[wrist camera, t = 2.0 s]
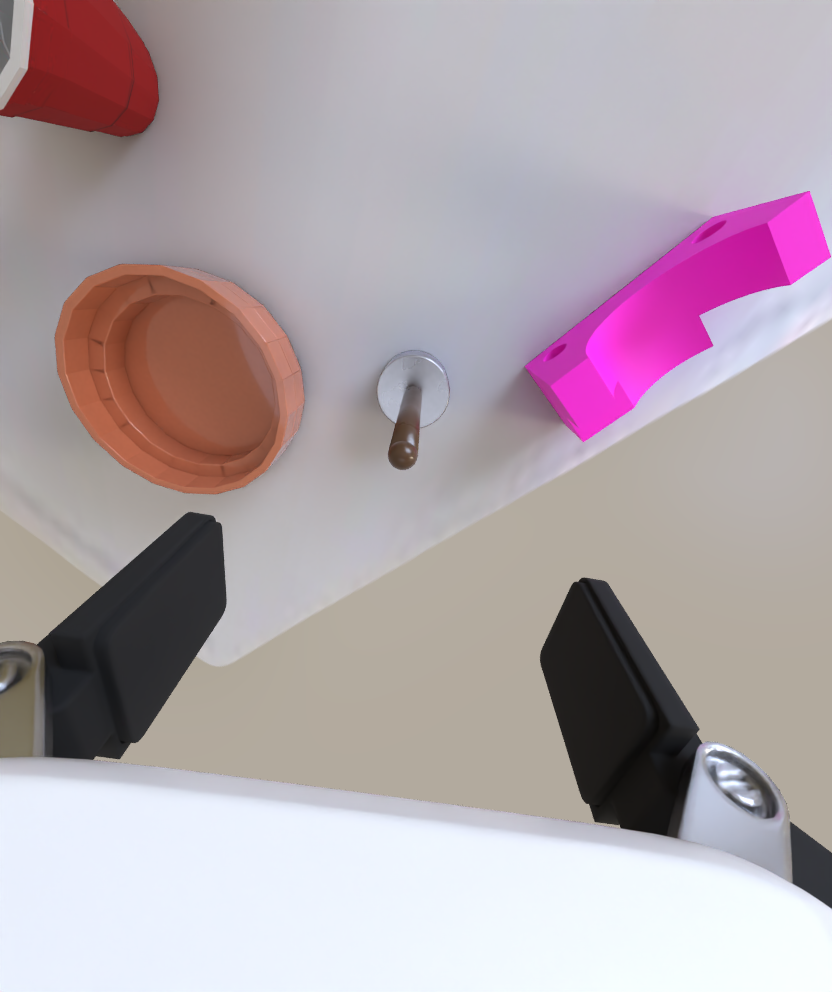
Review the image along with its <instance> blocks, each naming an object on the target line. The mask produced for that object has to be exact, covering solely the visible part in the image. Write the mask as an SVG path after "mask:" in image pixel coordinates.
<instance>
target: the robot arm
mask: <svg viewBox="0 0 832 992" xmlns="http://www.w3.org/2000/svg"><path fill="white" fill-rule="evenodd" d="M225 608H226V584H225V568H224V552H223V535H222V525H221V523H219V522H216V519H215V518H214V516H211V515H205V514H199V513H193V512H188V513H186V514H185V515H184V516H183V517H181V518H180V519H179V520H178V521H177V522H176V523H175V524H173V525H172V526H171V527H170V528H169V529H168V530H167V531H165V532H164V533H163V534H162V535H161V536H160V537H159V538H157V539H156V540H155V541H154V542H153V543H152V544H151V545H149V546H148V547H147V548H146V549H145V550H144V551H143V552H141V553H140V554H139V555H138V556H137V557H136V558H135V559H133V560H132V561H131V562H130V563H129V564H128V565H127V566H125V567H124V568H123V569H122V570H121V571H120V572H119V573H117V574H116V575H115V576H114V577H113V578H112V579H111V580H109V581H108V582H107V583H106V584H105V585H104V586H103V587H101V588H100V589H99V590H98V591H97V592H96V593H95V594H93V595H92V596H91V597H90V598H89V599H88V600H87V601H86V602H84V603H83V604H82V605H81V606H80V607H79V608H77V609H76V610H75V611H74V612H73V613H72V614H71V615H69V616H68V617H67V618H66V619H65V620H64V621H63V622H62V623H60V624H59V625H58V626H57V627H56V628H55V629H53V630H52V631H51V632H50V633H49V635H47V636H46V637H45V638H44V639H43V640H42V641H40V642H39V643H38V644H37V645H36V644H34V643H30V642H25V641H7V642H2V643H0V992H832V853H831V852H830V851H829V850H827V849H826V848H824V847H823V846H822V845H821V844H819V843H818V842H817V841H815V840H814V839H813V838H811V837H810V836H808V835H807V834H806V833H805V832H803V831H802V830H801V829H799V828H798V827H797V826H795V825H794V824H792V823H791V822H790V816H789V811H788V807H787V803H786V801H785V800H784V798H783V796H782V794H781V792H780V790H779V789H778V788H777V786H776V785H775V784H774V782H772V780H771V779H770V777H768V775H767V774H766V773H765V772H764V771H763V770H762V769H761V768H760V767H759V766H758V765H757V764H755V763H754V762H753V761H751V760H750V759H749V758H747V757H746V756H745V755H744V754H742V753H740V752H739V751H737V750H735V749H733V748H731V747H730V746H727V745H724V744H721V743H718V742H705V743H702V742H701V740H700V739H699V737H698V735H697V734H696V733H697V732H698V731H699V728H698V726H697V724H696V723H695V721H694V720H693V718H692V716H691V715H690V713H689V712H688V710H687V709H686V707H685V705H684V704H683V702H682V701H681V699H680V697H679V696H678V694H677V693H676V691H675V689H674V688H673V686H672V685H671V683H670V681H669V680H668V678H667V677H666V675H665V674H664V672H663V670H662V669H661V667H660V666H659V664H658V662H657V661H656V659H655V658H654V656H653V654H652V653H651V651H650V650H649V648H648V647H647V645H646V644H645V642H644V640H643V639H642V637H641V635H640V634H639V633H638V631H637V629H636V627H635V626H634V624H633V623H632V621H631V620H630V618H629V616H628V615H627V613H626V612H625V610H624V608H623V607H622V605H621V604H620V602H619V600H618V599H617V598H616V596H615V594H614V593H613V591H612V589H611V588H610V586H609V585H608V583H607V582H605V581H602V580H596V579H590V578H581V579H580V580H579V582H574V583H573V584H572V586H571V588H570V590H569V592H568V594H567V596H566V599H565V601H564V603H563V605H562V607H561V609H560V611H559V613H558V616H557V618H556V620H555V622H554V624H553V627H552V629H551V631H550V633H549V635H548V637H547V639H546V641H545V644H544V646H543V648H542V650H541V654H540V663H541V667H542V670H543V673H544V676H545V680H546V683H547V686H548V690H549V693H550V696H551V699H552V703H553V706H554V709H555V712H556V716H557V719H558V722H559V726H560V729H561V732H562V735H563V739H564V742H565V745H566V748H567V752H568V755H569V758H570V762H571V765H572V768H573V771H574V775H575V778H576V781H577V785H578V788H579V791H580V794H581V797H582V799H583V800H584V802H585V803H586V804H589V805H590V808H591V811H592V814H593V818H594V821H595V822H599V823H607V824H614V825H620V827H621V828H614V827H608V826H602V825H596V824H589V823H583V822H576V821H569V820H562V819H554V818H547V817H540V816H532V815H525V814H518V813H511V812H503V811H496V810H489V809H481V808H474V807H467V806H459V805H452V804H445V803H437V802H430V801H422V800H415V799H407V798H399V797H392V796H384V795H377V794H369V793H362V792H354V791H346V790H338V789H331V788H323V787H316V786H308V785H300V784H292V783H284V782H276V781H269V780H261V779H253V778H244V777H237V776H229V775H221V774H213V773H205V772H197V771H189V770H181V769H173V768H163V767H154V766H145V765H135V764H126V763H117V762H107V761H98V760H93V759H94V758H95V757H96V756H99V757H106V758H114V759H120V758H121V756H122V755H123V754H124V752H125V751H126V749H127V748H128V746H129V745H130V743H136V742H138V741H139V740H140V739H141V738H142V737H143V736H144V734H145V733H146V731H147V729H148V728H149V726H150V725H151V723H152V722H153V720H154V719H155V717H156V716H157V714H158V713H159V711H160V710H161V708H162V706H163V705H164V704H165V702H166V701H167V699H168V698H169V696H170V695H171V693H172V692H173V690H174V688H175V687H176V686H177V684H178V682H179V681H180V679H181V678H182V676H183V675H184V673H185V672H186V670H187V669H188V667H189V666H190V664H191V663H192V661H193V659H194V658H195V657H196V655H197V654H198V652H199V650H200V649H201V647H202V646H203V644H204V643H205V641H206V640H207V638H208V637H209V635H210V634H211V632H212V631H213V629H214V628H215V626H216V625H217V623H218V622H219V620H220V619H221V617H222V615H223V613H224V611H225Z"/></svg>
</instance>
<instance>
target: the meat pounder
mask: <svg viewBox="0 0 832 992" xmlns="http://www.w3.org/2000/svg"><path fill="white" fill-rule="evenodd" d="M449 396H450V389H449V383H448V378H447V374H446V372H445V369H444V368H443V366H442V364H441V363H440V362H439V361H438V360H437V359H436V358H435V357H433V356H432V355H430V354H428V353H426V352H422V351H417V350H411V351H406V352H402V353H400V354H398V355H397V356H395V357H394V358H393V359H391V360H390V361H389V363H388V364H387V365H386V367H385V368H384V370H383V372H382V373H381V375H380V378H379V380H378V385H377V398H378V402H379V405H380V408H381V410H382V411H383V413H384V414H385V415H386V417H387V418H388V419H389V420H391V421H392V422H393V423H395V428H394V432H393V436H392V440H391V443H390V447H389V451H388V459H389V462H390V463H391V465H392V466H393V467H395V468H397V469H399V470H406V469H409V468H411V467H412V466H413V465H414V464H415V462H416V460H417V456H418V443H419V430H420V428H423V427H426V426H428V425H430V424H432V423H434V422H435V421H436V420H438V419H439V418H440V417H441V415H442V414H443V413H444V411H445V409H446V407H447V405H448V402H449Z"/></svg>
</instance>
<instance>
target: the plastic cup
mask: <svg viewBox="0 0 832 992" xmlns="http://www.w3.org/2000/svg"><path fill="white" fill-rule="evenodd" d="M158 102H159V96H158V82H157V75H156V72H155V69H154V66H153V63H152V60H151V57H150V55H149V52H148V50H147V49H146V47H145V45H144V43H143V41H142V40H141V38H140V37H139V35H138V34H137V32H136V31H135V29H134V28H133V26H132V25H131V23H130V22H129V20H128V19H127V18H126V16H125V15H124V14H123V13H122V11H121V10H120V9H119V8H118V6H117V5H116V4H115V3H114V1H113V0H0V115H1V116H7V117H15V116H18V117H23V118H28V119H33V120H37V121H42V122H47V123H52V124H56V125H61V126H66V127H71V128H75V129H80V130H85V131H90V132H92V131H98V132H102V133H107V134H111V135H115V136H119V137H123V136H131V135H134V134H138V133H142V132H143V131H144V130H145V129H146V128H147V127H148V125H149V124H150V123H151V122H152V121H153V120H154V116H155V113H156V109H157V105H158Z"/></svg>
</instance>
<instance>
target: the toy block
mask: <svg viewBox="0 0 832 992" xmlns="http://www.w3.org/2000/svg"><path fill="white" fill-rule="evenodd" d="M830 257H831V255H830V252H829V249H828V246H827V243H826V240H825V237H824V234H823V231H822V228H821V224H820V221H819V218H818V215H817V212H816V209H815V206H814V203H813V200H812V197H811V194H810V191H807V192H804V193H800V194H796V195H793V196H789V197H785V198H781V199H778V200H774V201H770V202H767V203H763V204H759V205H756V206H752V207H748V208H745V209H741V210H737V211H734V212H730V213H726V214H722V215H719V216H715V217H712V218H711V219H710V220H709V221H707V222H706V223H705V224H704V225H702V226H701V227H700V228H699V229H697V230H696V231H695V232H693V233H692V234H691V235H690V236H688V237H687V238H686V239H685V240H683V241H682V242H681V243H680V244H678V245H677V246H676V247H675V248H673V249H672V250H671V251H669V252H668V253H667V254H666V255H664V256H663V257H662V258H661V259H659V260H658V261H657V262H656V263H654V264H653V265H652V266H651V267H649V268H648V269H647V270H645V271H644V272H643V273H642V274H640V275H639V276H638V277H637V278H635V279H634V280H633V281H632V282H630V283H629V284H628V285H627V286H625V287H624V288H623V289H621V290H620V291H619V292H618V293H616V294H615V295H614V296H613V297H611V298H610V299H609V300H608V301H606V302H605V303H604V304H603V305H601V306H600V307H599V308H597V309H596V310H595V311H594V312H592V313H591V314H590V315H589V316H587V317H586V318H585V319H584V320H582V321H581V322H580V323H579V324H577V325H576V326H575V327H574V328H572V329H571V330H570V331H568V332H567V333H566V334H565V335H563V336H562V337H561V338H560V339H558V340H557V341H556V342H555V343H553V344H552V345H551V346H550V347H548V348H547V349H546V350H544V351H543V352H542V353H541V354H539V355H538V356H537V357H536V358H534V359H533V360H532V361H531V362H529V363H528V364H527V365H526V366H525V368H526V369H527V371H528V372H529V373H530V375H531V376H532V378H533V379H534V381H535V382H536V383H537V385H538V386H539V388H540V389H541V391H542V392H543V393H544V395H545V396H546V398H547V399H548V401H549V402H550V403H551V405H552V406H553V408H554V409H555V411H556V412H557V414H558V415H559V416H560V418H561V419H562V421H563V422H564V424H565V425H566V426H567V427H568V428H569V429H570V430H571V431H573V432H574V433H575V434H576V435H577V436H578V437H579V438H580V439H581V440H582V441H583V442H584V441H586V440H587V439H589V438H590V437H592V436H593V435H595V434H596V433H598V432H599V431H601V430H602V429H604V428H605V427H607V426H608V425H610V424H611V423H612V422H614V421H615V420H617V419H618V418H620V417H621V416H623V415H624V414H626V413H627V412H629V411H630V410H632V409H633V408H634V407H635V406H636V404H637V402H638V401H639V399H640V398H641V397H642V396H643V394H644V393H645V392H646V391H647V390H648V389H649V388H650V387H651V386H652V385H653V384H654V383H655V382H656V381H657V380H659V379H660V378H661V377H662V376H664V375H665V374H666V373H668V372H669V371H670V370H672V369H673V368H675V367H676V366H678V365H679V364H681V363H682V362H684V361H686V360H687V359H689V358H691V357H693V356H694V355H696V354H698V353H700V352H702V351H704V350H706V349H708V348H710V347H712V346H713V344H712V342H711V340H710V338H709V336H708V334H707V331H706V329H705V327H704V325H703V323H702V321H701V319H700V317H699V315H701V314H703V313H705V312H707V311H709V310H711V309H713V308H716V307H718V306H720V305H722V304H725V303H727V302H730V301H732V300H735V299H737V298H740V297H743V296H746V295H749V294H752V293H755V292H759V291H762V290H766V289H770V288H775V287H780V286H787V285H791V284H793V283H794V282H796V281H797V280H798V279H800V278H801V277H803V276H804V275H806V274H807V273H809V272H810V271H812V270H813V269H814V268H816V267H817V266H819V265H820V264H822V263H823V262H825V261H826V260H827V259H829V258H830Z"/></svg>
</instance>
